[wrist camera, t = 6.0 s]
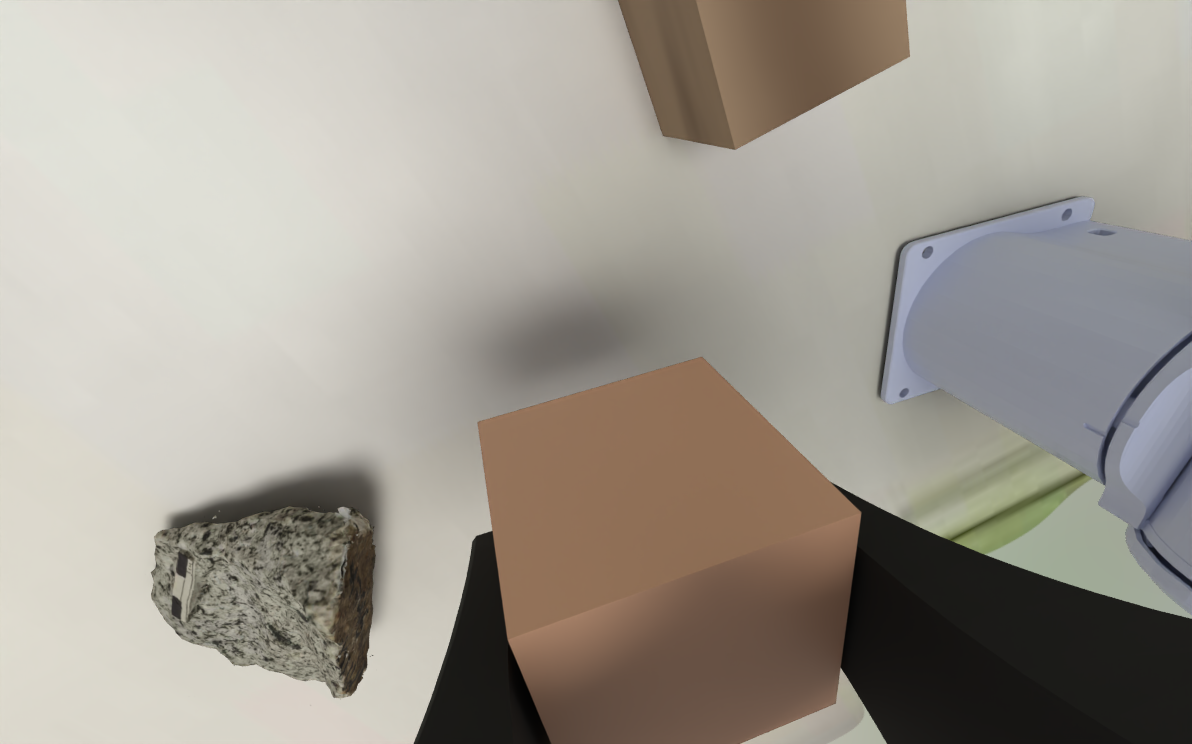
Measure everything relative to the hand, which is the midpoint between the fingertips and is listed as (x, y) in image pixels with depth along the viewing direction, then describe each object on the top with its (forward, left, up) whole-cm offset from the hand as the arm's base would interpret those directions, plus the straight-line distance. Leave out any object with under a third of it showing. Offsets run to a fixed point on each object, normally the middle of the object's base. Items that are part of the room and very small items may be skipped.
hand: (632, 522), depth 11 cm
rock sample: (+13, +7, -10) cm, 18 cm away
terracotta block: (0, 0, -2) cm, 2 cm away
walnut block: (-7, -9, -10) cm, 15 cm away
